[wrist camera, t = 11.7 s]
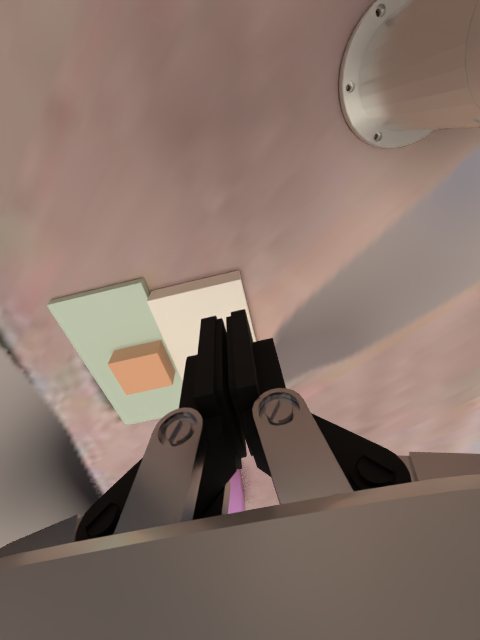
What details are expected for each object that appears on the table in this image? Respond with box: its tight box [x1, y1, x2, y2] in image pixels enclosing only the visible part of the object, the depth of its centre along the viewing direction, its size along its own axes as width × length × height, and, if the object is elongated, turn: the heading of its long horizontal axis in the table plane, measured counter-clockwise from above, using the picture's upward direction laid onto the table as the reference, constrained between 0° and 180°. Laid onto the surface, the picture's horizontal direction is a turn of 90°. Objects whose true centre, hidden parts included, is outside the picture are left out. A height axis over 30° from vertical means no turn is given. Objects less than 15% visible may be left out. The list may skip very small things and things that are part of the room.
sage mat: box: [47, 278, 183, 425], centre depth 44 cm, size 13×24×2 cm, turn 13°
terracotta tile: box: [108, 340, 175, 395], centre depth 42 cm, size 7×6×3 cm
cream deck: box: [147, 270, 256, 381], centre depth 43 cm, size 12×20×3 cm, turn 13°
